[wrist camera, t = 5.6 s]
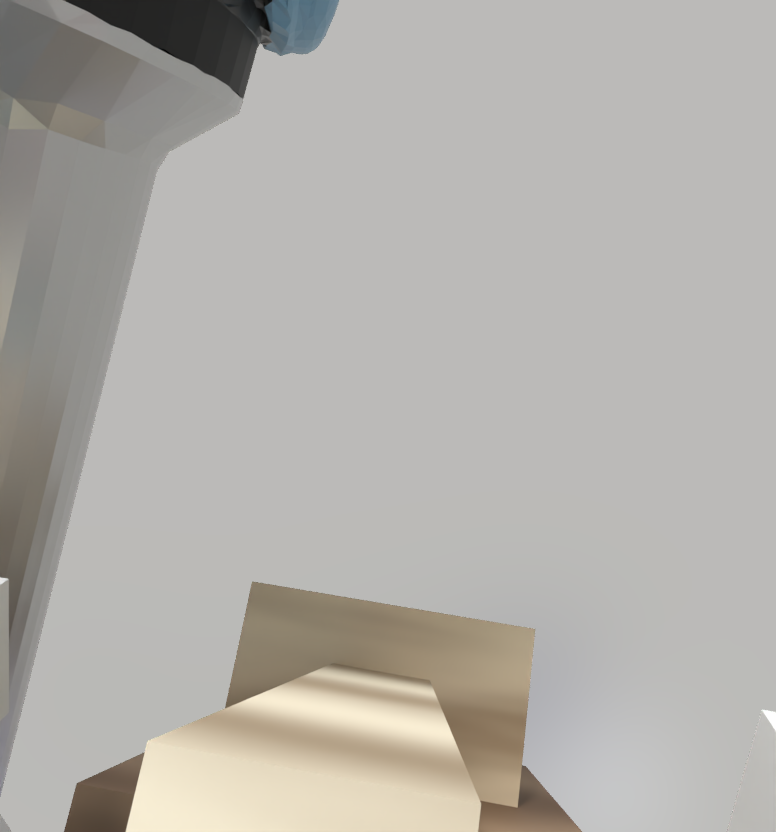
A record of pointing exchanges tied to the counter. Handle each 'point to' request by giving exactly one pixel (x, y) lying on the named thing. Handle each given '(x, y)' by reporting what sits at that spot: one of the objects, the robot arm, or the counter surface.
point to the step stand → (115, 788)
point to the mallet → (348, 724)
